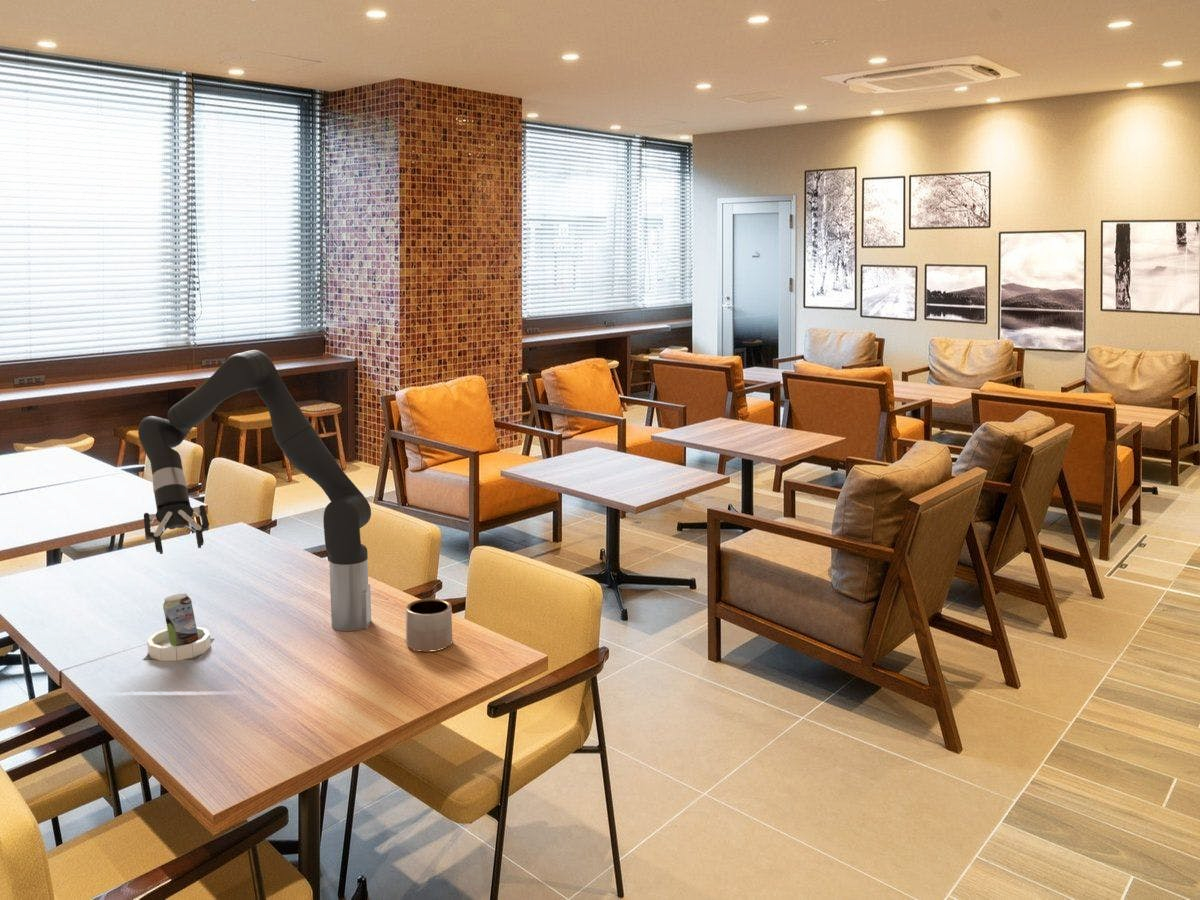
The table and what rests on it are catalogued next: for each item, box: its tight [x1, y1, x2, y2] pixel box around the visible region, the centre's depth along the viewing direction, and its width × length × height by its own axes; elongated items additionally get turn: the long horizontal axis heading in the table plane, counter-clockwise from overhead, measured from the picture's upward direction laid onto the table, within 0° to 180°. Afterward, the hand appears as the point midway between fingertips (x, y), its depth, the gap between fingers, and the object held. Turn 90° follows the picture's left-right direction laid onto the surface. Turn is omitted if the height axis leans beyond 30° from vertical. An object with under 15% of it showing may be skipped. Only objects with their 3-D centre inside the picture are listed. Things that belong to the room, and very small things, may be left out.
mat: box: [142, 638, 215, 661], centre depth 222 cm, size 12×12×1 cm
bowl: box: [146, 625, 212, 662], centre depth 222 cm, size 13×13×3 cm
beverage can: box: [162, 593, 198, 646], centre depth 221 cm, size 6×7×12 cm
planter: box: [405, 598, 453, 651], centre depth 228 cm, size 11×11×10 cm
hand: (180, 549), depth 230 cm, fingers open, 8 cm apart
